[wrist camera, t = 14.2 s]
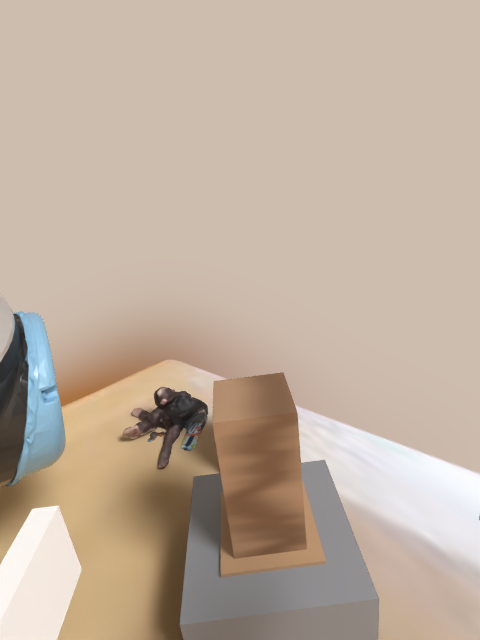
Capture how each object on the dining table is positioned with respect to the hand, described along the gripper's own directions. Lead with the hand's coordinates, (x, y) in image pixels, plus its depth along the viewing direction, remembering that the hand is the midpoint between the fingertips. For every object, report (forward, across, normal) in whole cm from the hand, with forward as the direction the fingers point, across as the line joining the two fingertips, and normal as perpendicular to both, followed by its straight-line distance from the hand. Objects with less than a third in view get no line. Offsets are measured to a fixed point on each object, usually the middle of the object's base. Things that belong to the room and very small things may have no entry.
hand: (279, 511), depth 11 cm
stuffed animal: (+33, -11, -21) cm, 41 cm away
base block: (+12, 0, -20) cm, 23 cm away
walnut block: (+12, 0, -14) cm, 18 cm away
